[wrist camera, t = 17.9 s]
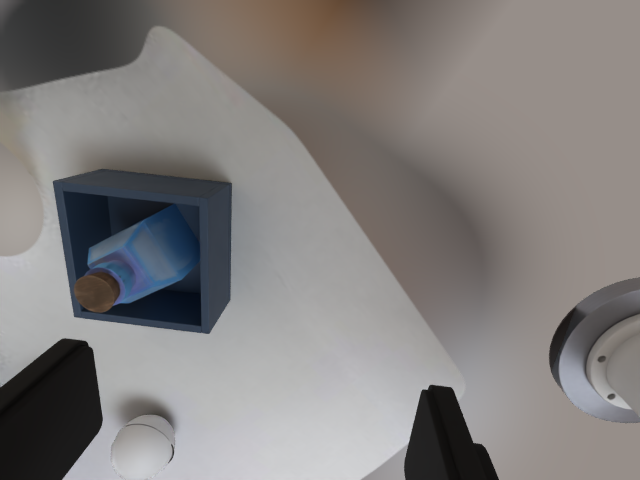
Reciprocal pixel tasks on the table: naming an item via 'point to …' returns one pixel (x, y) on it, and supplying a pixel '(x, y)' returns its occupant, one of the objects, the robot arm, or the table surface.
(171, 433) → the white sphere
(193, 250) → the perfume bottle
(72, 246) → the bin
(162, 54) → the table surface
